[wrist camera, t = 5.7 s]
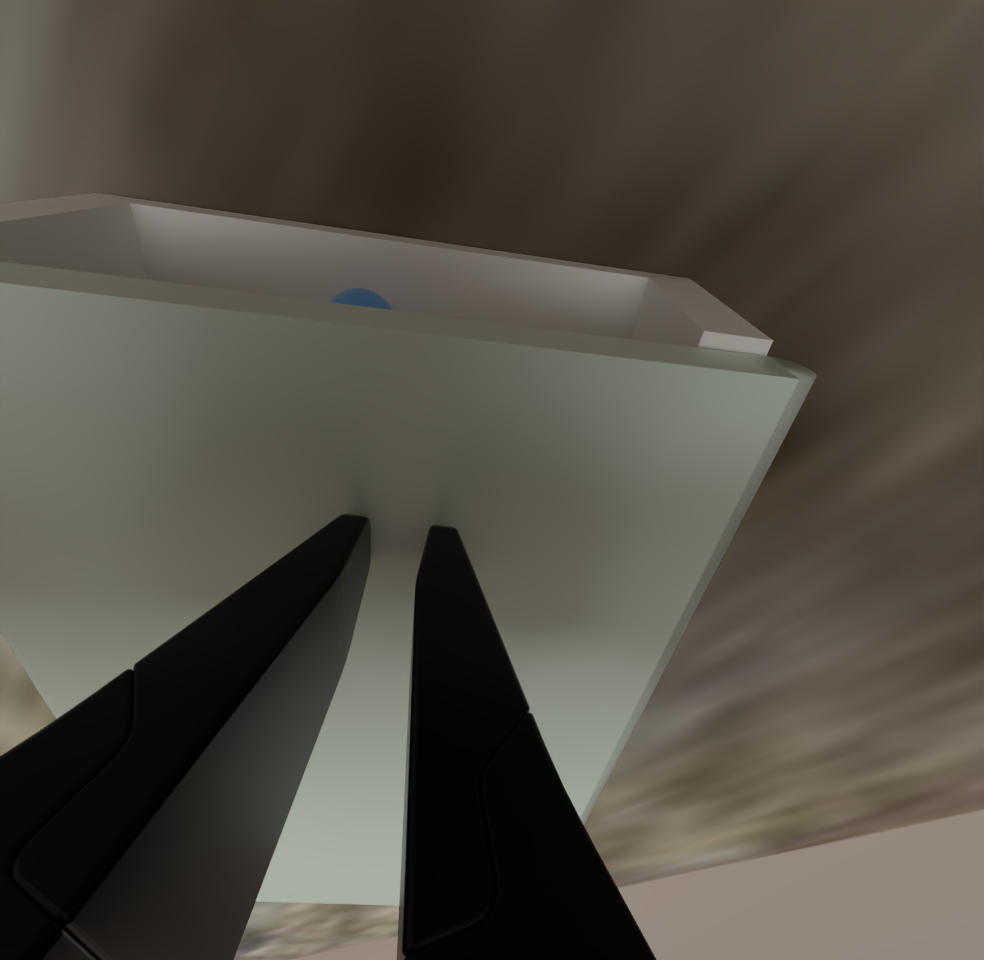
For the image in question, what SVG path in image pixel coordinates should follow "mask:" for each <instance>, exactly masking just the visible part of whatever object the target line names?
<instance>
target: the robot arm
mask: <svg viewBox="0 0 984 960" xmlns="http://www.w3.org/2000/svg"><path fill="white" fill-rule="evenodd" d="M370 561H371V526H370V520H369V519H368V518H367V517H365V516H358V515H350V514H342V515H340V516H338V517H337V518H336V519H334V520H333V521H331V522H330V523H329V524H327V525H326V526H324V527H323V528H322V529H320V530H319V531H318V532H316V533H315V534H313V535H312V536H311V537H309V538H308V539H307V540H305V541H304V542H302V543H301V544H300V545H298V546H297V547H295V548H294V549H293V550H291V551H290V552H289V553H287V554H286V555H284V556H283V557H282V558H280V559H279V560H277V561H276V562H275V563H273V564H272V565H271V566H269V567H268V568H266V569H265V570H264V571H262V572H261V573H260V574H258V575H257V576H255V577H254V578H253V579H251V580H250V581H248V582H247V583H246V584H244V585H243V586H242V587H240V588H239V589H237V590H236V591H235V592H233V593H232V594H231V595H229V596H228V597H226V598H225V599H224V600H222V601H221V602H219V603H218V604H217V605H215V606H214V607H213V608H211V609H210V610H208V611H207V612H206V613H204V614H203V615H201V616H200V617H199V618H197V619H196V620H195V621H193V622H192V623H190V624H189V625H188V626H186V627H185V628H184V629H182V630H181V631H179V632H178V633H177V634H175V635H174V636H172V637H171V638H170V639H168V640H167V641H166V642H164V643H163V644H161V645H160V646H159V647H157V648H156V649H154V650H153V651H152V652H150V653H149V654H148V655H146V656H145V657H143V658H142V659H141V660H139V661H138V662H137V663H135V665H134V667H133V670H132V669H127V670H125V671H124V672H122V673H121V674H120V675H118V676H117V677H115V678H114V679H113V680H111V681H110V682H108V683H107V684H106V685H104V686H103V687H102V688H100V689H99V690H97V691H96V692H95V693H93V694H92V695H90V696H89V697H87V698H86V699H85V700H83V701H82V702H80V703H79V704H77V705H76V706H74V707H73V708H72V709H70V710H69V711H67V712H66V713H64V714H63V715H62V716H60V717H59V718H57V719H56V720H54V721H53V722H51V723H50V724H49V725H47V726H46V727H44V728H43V729H41V730H40V731H38V732H37V733H35V734H34V735H32V736H31V737H29V738H28V739H26V740H25V741H23V742H21V743H20V744H18V745H17V746H15V747H14V748H12V749H11V750H9V751H8V752H6V753H4V754H3V755H1V756H0V960H233V959H234V957H235V954H236V951H237V949H238V946H239V944H240V941H241V938H242V936H243V933H244V930H245V928H246V925H247V922H248V920H249V917H250V915H251V912H252V909H253V907H254V904H255V901H256V899H257V896H258V893H259V891H260V888H261V886H262V883H263V880H264V878H265V875H266V872H267V870H268V867H269V865H270V862H271V859H272V857H273V854H274V851H275V849H276V846H277V843H278V841H279V838H280V836H281V833H282V830H283V828H284V825H285V822H286V820H287V817H288V814H289V812H290V809H291V807H292V804H293V801H294V799H295V796H296V793H297V791H298V788H299V785H300V783H301V780H302V778H303V775H304V772H305V770H306V767H307V764H308V762H309V759H310V756H311V754H312V751H313V749H314V746H315V743H316V741H317V738H318V735H319V733H320V730H321V727H322V725H323V722H324V720H325V717H326V714H327V712H328V709H329V706H330V704H331V701H332V698H333V696H334V693H335V691H336V688H337V685H338V683H339V680H340V677H341V675H342V672H343V669H344V666H345V663H346V660H347V656H348V653H349V649H350V646H351V642H352V638H353V634H354V630H355V626H356V622H357V617H358V613H359V609H360V605H361V601H362V597H363V593H364V589H365V585H366V581H367V577H368V573H369V568H370ZM529 710H530V707H529V704H528V702H527V699H526V697H525V695H524V692H523V690H522V687H521V685H520V682H519V680H518V677H517V675H516V672H515V670H514V667H513V665H512V663H511V660H510V658H509V655H508V653H507V650H506V648H505V645H504V643H503V640H502V638H501V635H500V633H499V630H498V628H497V626H496V623H495V621H494V618H493V616H492V613H491V611H490V608H489V606H488V603H487V601H486V598H485V596H484V594H483V591H482V589H481V586H480V584H479V581H478V579H477V576H476V574H475V571H474V569H473V566H472V564H471V561H470V559H469V557H468V554H467V552H466V549H465V547H464V544H463V542H462V539H461V537H460V534H459V532H458V530H457V529H456V528H454V527H448V526H440V525H432V526H431V527H430V528H429V532H428V535H427V539H426V543H425V547H424V550H423V554H422V558H421V561H420V565H419V569H418V573H417V578H416V584H415V596H414V614H413V631H412V648H411V665H410V683H409V704H408V726H407V748H406V770H405V792H404V814H403V836H402V858H401V880H400V901H399V923H398V945H397V960H656V958H655V956H654V954H653V953H652V951H651V949H650V947H649V945H648V943H647V942H646V940H645V938H644V936H643V934H642V932H641V931H640V929H639V927H638V925H637V923H636V921H635V919H634V918H633V916H632V914H631V912H630V910H629V908H628V907H627V905H626V903H625V901H624V899H623V897H622V896H621V894H620V892H619V890H618V888H617V886H616V885H615V883H614V881H613V879H612V877H611V875H610V874H609V872H608V870H607V868H606V866H605V864H604V862H603V861H602V859H601V857H600V855H599V853H598V851H597V850H596V848H595V846H594V844H593V842H592V840H591V839H590V837H589V835H588V833H587V831H586V829H585V827H584V825H583V823H582V821H581V819H580V817H579V815H578V813H577V811H576V809H575V807H574V805H573V803H572V802H571V800H570V798H569V796H568V794H567V792H566V790H565V788H564V786H563V784H562V781H561V779H560V777H559V775H558V772H557V770H556V768H555V766H554V763H553V761H552V759H551V756H550V754H549V752H548V750H547V747H546V745H545V743H544V741H543V738H542V736H541V733H540V731H539V728H538V726H537V723H536V721H535V718H534V716H533V714H532V713H529Z"/></svg>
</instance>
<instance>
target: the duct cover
mask: <svg viewBox="0 0 984 960" xmlns="http://www.w3.org/2000/svg"><path fill="white" fill-rule="evenodd" d="M815 379H816V374H815V373H814V372H813V371H812V370H810V369H808V368H806V367H804V366H802V365H800V364H797V363H794V362H791V361H788V360H784V359H780V358H775V357H768V356H759V355H751V354H743V353H735V352H727V351H719V350H711V349H703V348H695V347H687V346H679V345H671V344H663V343H655V342H646V341H638V340H630V339H622V338H614V337H606V336H598V335H590V334H582V333H574V332H566V331H558V330H550V329H542V328H534V327H525V326H517V325H509V324H501V323H493V322H485V321H477V320H469V319H461V318H453V317H445V316H437V315H429V314H421V313H412V312H404V311H396V310H388V309H380V308H372V307H364V306H356V305H348V304H340V303H332V302H324V301H316V300H308V299H300V298H291V297H283V296H275V295H267V294H259V293H251V292H243V291H235V290H227V289H219V288H211V287H203V286H195V285H187V284H178V283H170V282H162V281H154V280H146V279H138V278H130V277H122V276H114V275H106V274H98V273H90V272H82V271H74V270H66V269H57V268H49V267H41V266H33V265H25V264H17V263H9V262H1V261H0V632H1V634H2V635H3V637H4V638H5V640H6V642H7V643H8V645H9V646H10V648H11V649H12V651H13V652H14V654H15V656H16V657H17V659H18V660H19V662H20V663H21V665H22V666H23V668H24V670H25V671H26V673H27V674H28V676H29V677H30V679H31V680H32V682H33V684H34V685H35V687H36V688H37V690H38V691H39V693H40V694H41V696H42V698H43V699H44V701H45V702H46V704H47V705H48V707H49V708H50V710H51V712H52V713H53V715H54V716H55V718H56V719H57V718H59V717H60V716H62V715H63V714H64V713H66V712H67V711H69V710H70V709H72V708H73V707H74V706H76V705H77V704H79V703H80V702H82V701H83V700H85V699H86V698H87V697H89V696H90V695H92V694H93V693H95V692H96V691H97V690H99V689H100V688H102V687H103V686H104V685H106V684H107V683H108V682H110V681H111V680H113V679H114V678H115V677H117V676H118V675H120V674H121V673H122V672H124V671H125V670H127V669H132V670H133V667H134V665H135V663H137V662H138V661H139V660H141V659H142V658H143V657H145V656H146V655H148V654H149V653H150V652H152V651H153V650H154V649H156V648H157V647H159V646H160V645H161V644H163V643H164V642H166V641H167V640H168V639H170V638H171V637H172V636H174V635H175V634H177V633H178V632H179V631H181V630H182V629H184V628H185V627H186V626H188V625H189V624H190V623H192V622H193V621H195V620H196V619H197V618H199V617H200V616H201V615H203V614H204V613H206V612H207V611H208V610H210V609H211V608H213V607H214V606H215V605H217V604H218V603H219V602H221V601H222V600H224V599H225V598H226V597H228V596H229V595H231V594H232V593H233V592H235V591H236V590H237V589H239V588H240V587H242V586H243V585H244V584H246V583H247V582H248V581H250V580H251V579H253V578H254V577H255V576H257V575H258V574H260V573H261V572H262V571H264V570H265V569H266V568H268V567H269V566H271V565H272V564H273V563H275V562H276V561H277V560H279V559H280V558H282V557H283V556H284V555H286V554H287V553H289V552H290V551H291V550H293V549H294V548H295V547H297V546H298V545H300V544H301V543H302V542H304V541H305V540H307V539H308V538H309V537H311V536H312V535H313V534H315V533H316V532H318V531H319V530H320V529H322V528H323V527H324V526H326V525H327V524H329V523H330V522H331V521H333V520H334V519H336V518H337V517H338V516H340V515H342V514H350V515H358V516H365V517H367V518H368V519H369V520H370V526H371V561H370V568H369V573H368V577H367V581H366V585H365V589H364V593H363V597H362V601H361V605H360V609H359V613H358V617H357V622H356V626H355V630H354V634H353V638H352V642H351V646H350V649H349V653H348V656H347V660H346V663H345V666H344V669H343V672H342V675H341V677H340V680H339V683H338V685H337V688H336V691H335V693H334V696H333V698H332V701H331V704H330V706H329V709H328V712H327V714H326V717H325V720H324V722H323V725H322V727H321V730H320V733H319V735H318V738H317V741H316V743H315V746H314V749H313V751H312V754H311V756H310V759H309V762H308V764H307V767H306V770H305V772H304V775H303V778H302V780H301V783H300V785H299V788H298V791H297V793H296V796H295V799H294V801H293V804H292V807H291V809H290V812H289V814H288V817H287V820H286V822H285V825H284V828H283V830H282V833H281V836H280V838H279V841H278V843H277V846H276V849H275V851H274V854H273V857H272V859H271V862H270V865H269V867H268V870H267V872H266V875H265V878H264V880H263V883H262V886H261V888H260V891H259V893H258V896H257V899H256V901H259V902H294V903H329V904H364V905H399V901H400V880H401V858H402V836H403V814H404V792H405V770H406V748H407V726H408V704H409V683H410V665H411V648H412V631H413V614H414V596H415V584H416V578H417V573H418V569H419V565H420V561H421V558H422V554H423V550H424V547H425V543H426V539H427V535H428V532H429V528H430V527H431V526H432V525H440V526H448V527H454V528H456V529H457V530H458V532H459V534H460V537H461V539H462V542H463V544H464V547H465V549H466V552H467V554H468V557H469V559H470V561H471V564H472V566H473V569H474V571H475V574H476V576H477V579H478V581H479V584H480V586H481V589H482V591H483V594H484V596H485V598H486V601H487V603H488V606H489V608H490V611H491V613H492V616H493V618H494V621H495V623H496V626H497V628H498V630H499V633H500V635H501V638H502V640H503V643H504V645H505V648H506V650H507V653H508V655H509V658H510V660H511V663H512V665H513V667H514V670H515V672H516V675H517V677H518V680H519V682H520V685H521V687H522V690H523V692H524V695H525V697H526V699H527V702H528V704H529V707H530V710H529V713H532V714H533V716H534V718H535V721H536V723H537V726H538V728H539V731H540V733H541V736H542V738H543V741H544V743H545V745H546V747H547V750H548V752H549V754H550V756H551V759H552V761H553V763H554V766H555V768H556V770H557V772H558V775H559V777H560V779H561V781H562V784H563V786H564V788H565V790H566V792H567V794H568V796H569V798H570V800H571V802H572V803H573V805H574V807H575V809H576V811H577V813H578V815H579V817H580V819H581V821H582V823H583V825H584V824H585V822H586V820H587V818H588V816H589V814H590V812H591V810H592V809H593V807H594V805H595V803H596V801H597V799H598V797H599V795H600V793H601V791H602V789H603V787H604V785H605V783H606V782H607V780H608V778H609V776H610V774H611V772H612V770H613V768H614V766H615V764H616V762H617V760H618V758H619V757H620V755H621V753H622V751H623V749H624V747H625V745H626V743H627V741H628V739H629V737H630V735H631V733H632V731H633V730H634V728H635V726H636V724H637V722H638V720H639V718H640V716H641V714H642V712H643V710H644V708H645V706H646V704H647V703H648V701H649V699H650V697H651V695H652V693H653V691H654V689H655V687H656V685H657V683H658V681H659V679H660V677H661V676H662V674H663V672H664V670H665V668H666V666H667V664H668V662H669V660H670V658H671V656H672V654H673V652H674V650H675V649H676V647H677V645H678V643H679V641H680V639H681V637H682V635H683V633H684V631H685V629H686V627H687V625H688V624H689V622H690V620H691V618H692V616H693V614H694V612H695V610H696V608H697V606H698V604H699V602H700V600H701V598H702V597H703V595H704V593H705V591H706V589H707V587H708V585H709V583H710V581H711V579H712V577H713V575H714V573H715V571H716V570H717V568H718V566H719V564H720V562H721V560H722V558H723V556H724V554H725V552H726V550H727V548H728V546H729V544H730V543H731V541H732V539H733V537H734V535H735V533H736V531H737V529H738V527H739V525H740V523H741V521H742V519H743V518H744V516H745V514H746V512H747V510H748V508H749V506H750V504H751V502H752V500H753V498H754V496H755V494H756V492H757V491H758V489H759V487H760V485H761V483H762V481H763V479H764V477H765V475H766V473H767V471H768V469H769V467H770V465H771V464H772V462H773V460H774V458H775V456H776V454H777V452H778V450H779V448H780V446H781V444H782V442H783V440H784V438H785V437H786V435H787V433H788V431H789V429H790V427H791V425H792V423H793V421H794V419H795V417H796V415H797V413H798V411H799V410H800V408H801V406H802V404H803V402H804V400H805V398H806V396H807V394H808V392H809V390H810V388H811V386H812V385H813V383H814V381H815Z"/></svg>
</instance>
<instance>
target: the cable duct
mask: <svg viewBox="0 0 984 960" xmlns="http://www.w3.org/2000/svg"><path fill="white" fill-rule="evenodd" d="M0 261H1V262H9V263H17V264H25V265H33V266H41V267H49V268H57V269H66V270H74V271H82V272H90V273H98V274H106V275H114V276H122V277H130V278H138V279H146V280H154V281H162V282H170V283H178V284H187V285H195V286H203V287H211V288H219V289H227V290H235V291H243V292H251V293H259V294H267V295H275V296H283V297H291V298H300V299H308V300H316V301H324V302H332V303H340V304H348V305H356V306H364V307H372V308H380V309H388V310H396V311H404V312H412V313H421V314H429V315H437V316H445V317H453V318H461V319H469V320H477V321H485V322H493V323H501V324H509V325H517V326H525V327H534V328H542V329H550V330H558V331H566V332H574V333H582V334H590V335H598V336H606V337H614V338H622V339H630V340H638V341H646V342H655V343H663V344H671V345H679V346H687V347H695V348H703V349H711V350H719V351H727V352H735V353H743V354H751V355H759V356H767V353H768V351H769V349H770V347H771V345H772V342H773V340H772V339H770V338H769V337H768V336H766V335H765V334H764V333H762V332H761V331H760V330H758V329H757V328H756V327H754V326H753V325H752V324H750V323H749V322H748V321H746V320H745V319H744V318H742V317H741V316H739V315H738V314H737V313H735V312H734V311H733V310H731V309H730V308H729V307H727V306H726V305H725V304H723V303H722V302H721V301H719V300H718V299H717V298H715V297H714V296H713V295H711V294H710V293H709V292H707V291H706V290H705V289H703V288H702V287H701V286H699V285H698V284H697V283H695V282H694V281H693V280H691V279H690V278H683V277H676V276H669V275H663V274H656V273H649V272H642V271H635V270H628V269H621V268H614V267H607V266H600V265H593V264H586V263H579V262H573V261H566V260H559V259H552V258H545V257H538V256H531V255H524V254H517V253H510V252H503V251H496V250H489V249H483V248H476V247H469V246H462V245H455V244H448V243H441V242H434V241H427V240H420V239H413V238H406V237H400V236H393V235H386V234H379V233H372V232H365V231H358V230H351V229H344V228H337V227H330V226H323V225H316V224H310V223H303V222H296V221H289V220H282V219H275V218H268V217H261V216H254V215H247V214H240V213H233V212H226V211H220V210H213V209H206V208H199V207H192V206H185V205H178V204H171V203H164V202H157V201H150V200H143V199H137V198H130V197H123V196H116V195H109V194H102V193H92V194H82V195H73V196H64V197H55V198H46V199H37V200H28V201H19V202H9V203H0Z"/></svg>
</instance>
